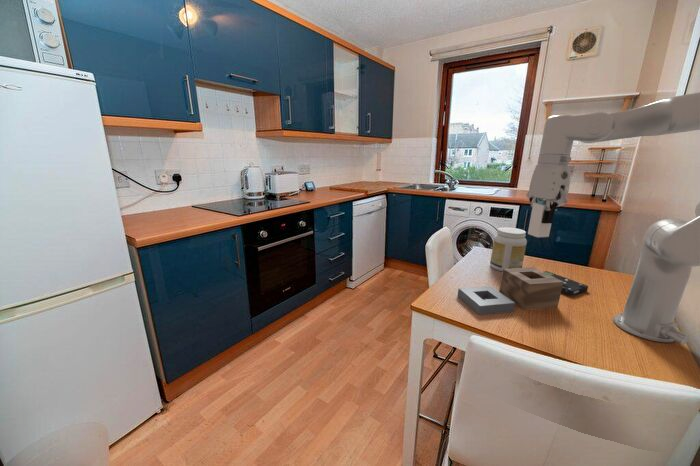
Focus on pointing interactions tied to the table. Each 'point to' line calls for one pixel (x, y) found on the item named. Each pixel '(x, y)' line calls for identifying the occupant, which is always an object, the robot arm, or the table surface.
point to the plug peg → (539, 220)
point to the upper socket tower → (531, 288)
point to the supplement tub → (508, 248)
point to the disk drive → (570, 285)
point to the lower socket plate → (492, 303)
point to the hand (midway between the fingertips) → (540, 220)
